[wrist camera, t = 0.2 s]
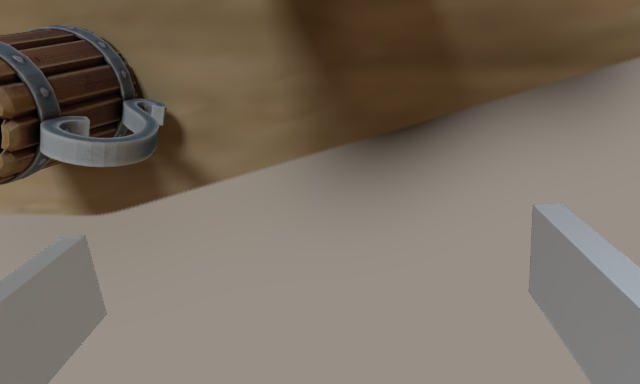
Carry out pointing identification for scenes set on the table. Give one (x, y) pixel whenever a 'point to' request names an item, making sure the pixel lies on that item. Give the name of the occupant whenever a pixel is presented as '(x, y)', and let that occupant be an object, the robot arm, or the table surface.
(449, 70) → the table surface
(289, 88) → the table surface
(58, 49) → the mug
